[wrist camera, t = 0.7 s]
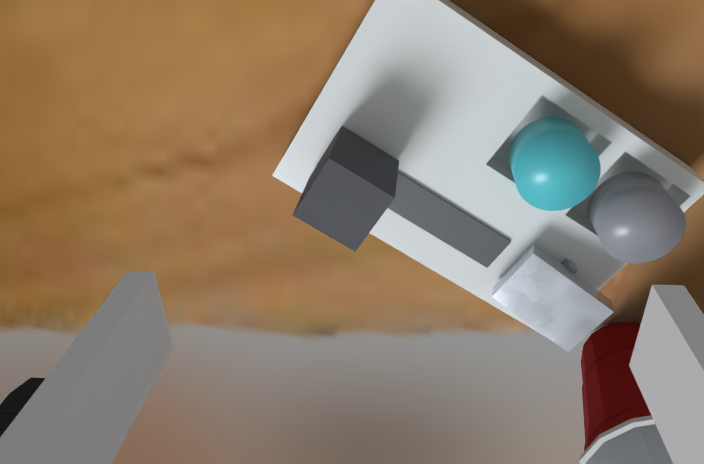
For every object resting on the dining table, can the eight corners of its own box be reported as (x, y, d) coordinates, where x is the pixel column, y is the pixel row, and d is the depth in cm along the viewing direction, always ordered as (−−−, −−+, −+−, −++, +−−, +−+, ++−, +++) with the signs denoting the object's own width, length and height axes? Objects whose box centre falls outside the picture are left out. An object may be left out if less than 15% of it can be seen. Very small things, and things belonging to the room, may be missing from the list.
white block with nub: (493, 286, 38) (491, 296, 36) (533, 244, 36) (533, 253, 34) (567, 340, 38) (568, 352, 36) (611, 300, 36) (613, 311, 34)
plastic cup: (569, 280, 41) (617, 407, 30) (721, 306, 40) (822, 445, 30) (526, 388, 46) (554, 527, 36) (660, 412, 46) (727, 560, 36)
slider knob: (309, 177, 35) (292, 215, 31) (342, 125, 33) (329, 158, 29) (364, 209, 36) (355, 251, 32) (399, 160, 34) (394, 198, 30)
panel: (282, 157, 39) (268, 182, 35) (396, -37, 32) (392, -30, 28) (540, 311, 42) (550, 347, 39) (690, 167, 36) (718, 195, 32)
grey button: (572, 213, 35) (583, 238, 32) (625, 158, 33) (642, 179, 30) (627, 249, 36) (642, 276, 33) (682, 197, 34) (704, 221, 31)
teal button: (492, 163, 34) (498, 184, 31) (542, 102, 32) (552, 120, 29) (551, 200, 35) (561, 224, 32) (603, 143, 33) (618, 164, 30)
